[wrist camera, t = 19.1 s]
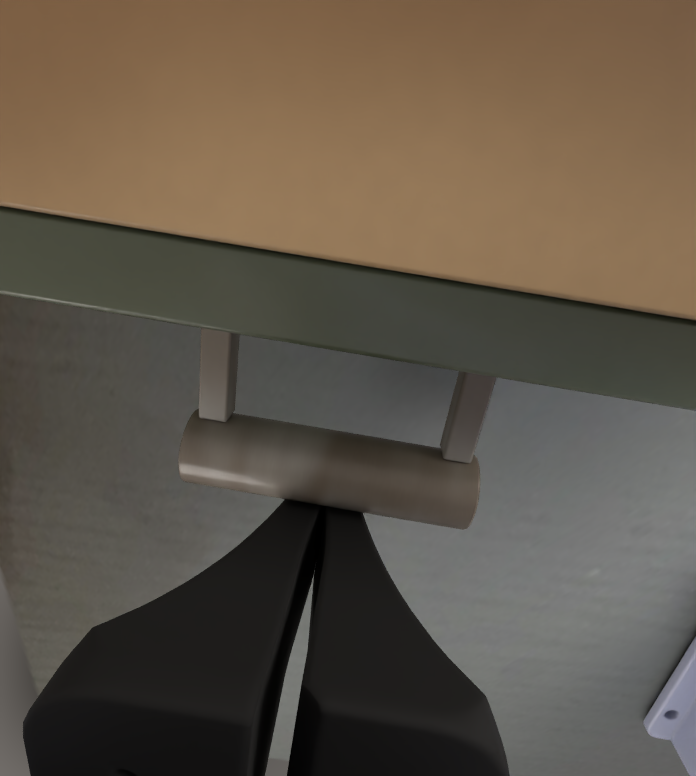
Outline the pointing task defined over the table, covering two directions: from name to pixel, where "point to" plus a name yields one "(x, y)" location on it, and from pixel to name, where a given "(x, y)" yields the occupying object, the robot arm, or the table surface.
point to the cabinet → (373, 133)
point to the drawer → (347, 334)
